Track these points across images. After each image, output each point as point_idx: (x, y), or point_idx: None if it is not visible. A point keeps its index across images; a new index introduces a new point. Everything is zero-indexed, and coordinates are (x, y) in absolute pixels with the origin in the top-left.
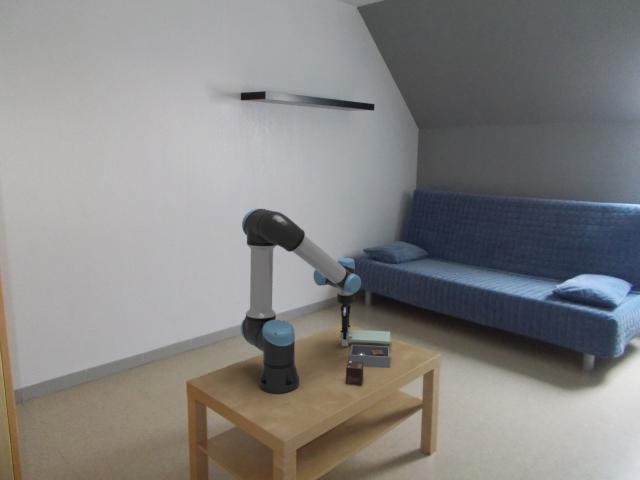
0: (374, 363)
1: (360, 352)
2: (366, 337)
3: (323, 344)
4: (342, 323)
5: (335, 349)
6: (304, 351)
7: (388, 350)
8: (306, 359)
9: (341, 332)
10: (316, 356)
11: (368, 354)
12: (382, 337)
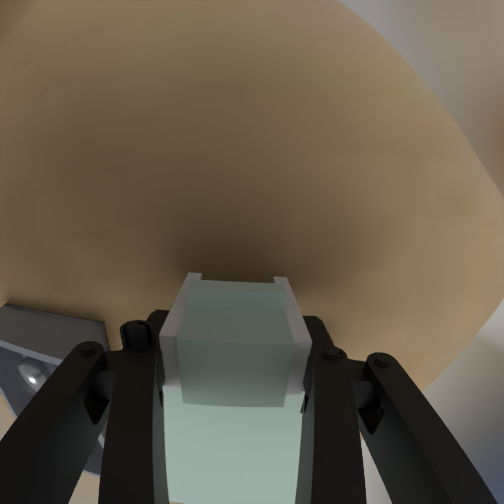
0: (29, 400)
1: (33, 382)
2: (191, 452)
3: (266, 120)
4: (24, 422)
5: (175, 219)
6: (133, 23)
7: (89, 472)
8: (35, 73)
9: (283, 301)
10: (62, 111)
11: None
12: (211, 493)
